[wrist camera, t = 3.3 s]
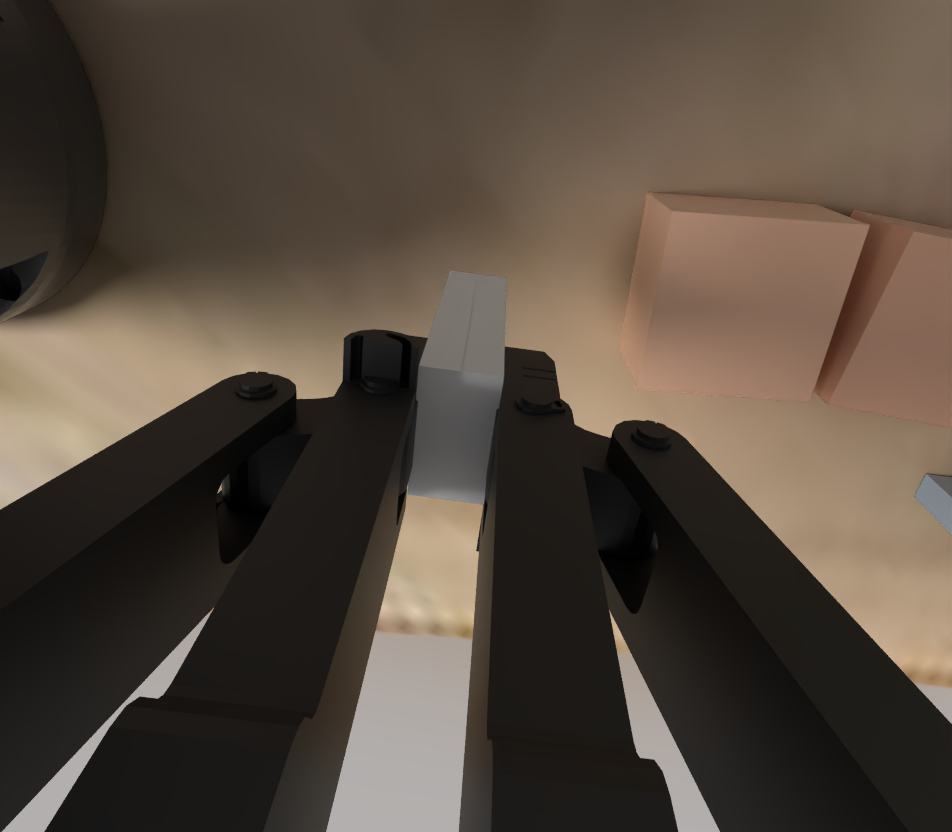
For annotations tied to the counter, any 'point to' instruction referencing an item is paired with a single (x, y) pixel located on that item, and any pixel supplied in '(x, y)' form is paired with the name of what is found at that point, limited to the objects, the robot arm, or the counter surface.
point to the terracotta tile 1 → (736, 295)
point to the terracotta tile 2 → (895, 326)
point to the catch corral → (937, 498)
